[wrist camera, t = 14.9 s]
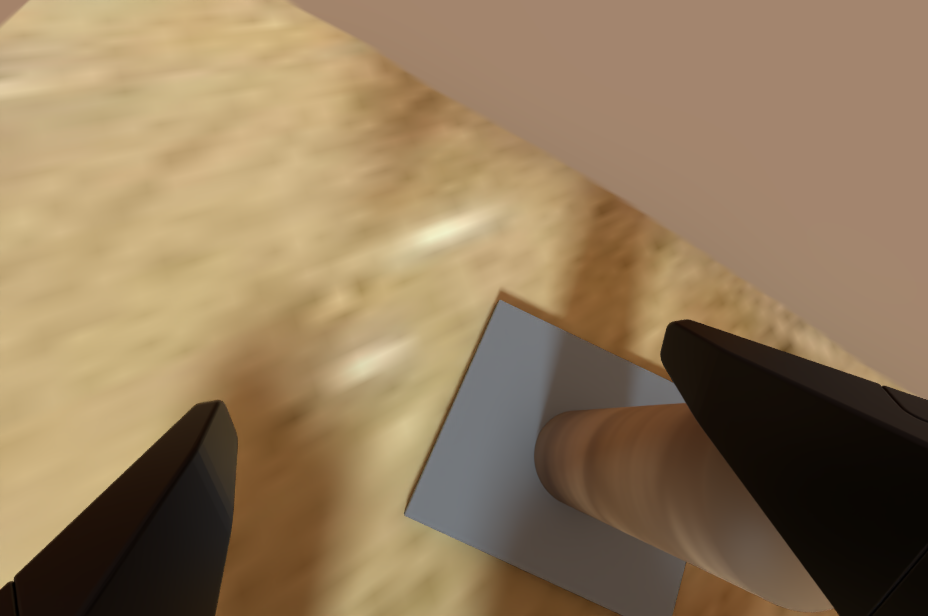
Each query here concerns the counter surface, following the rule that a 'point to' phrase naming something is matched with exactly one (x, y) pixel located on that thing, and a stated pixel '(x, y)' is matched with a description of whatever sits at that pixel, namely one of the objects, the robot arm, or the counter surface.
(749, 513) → the walnut peg
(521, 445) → the slate mat
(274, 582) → the counter surface
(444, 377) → the counter surface
